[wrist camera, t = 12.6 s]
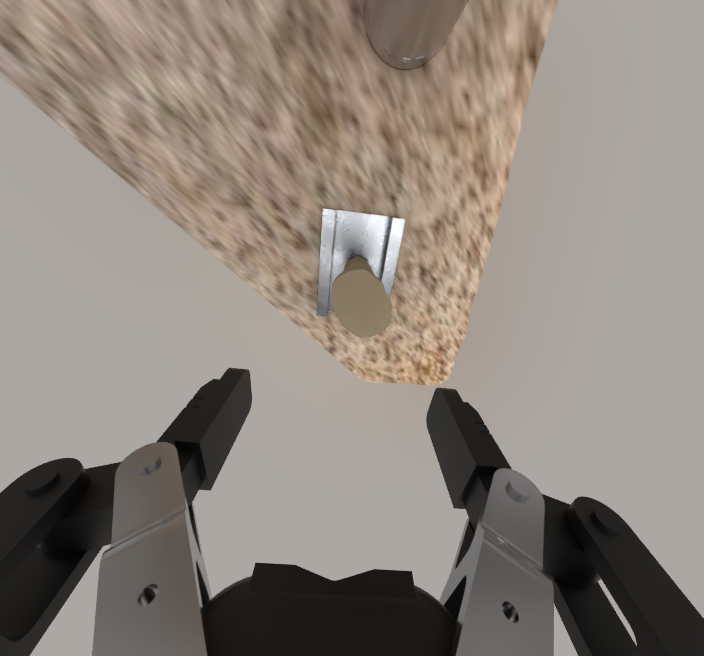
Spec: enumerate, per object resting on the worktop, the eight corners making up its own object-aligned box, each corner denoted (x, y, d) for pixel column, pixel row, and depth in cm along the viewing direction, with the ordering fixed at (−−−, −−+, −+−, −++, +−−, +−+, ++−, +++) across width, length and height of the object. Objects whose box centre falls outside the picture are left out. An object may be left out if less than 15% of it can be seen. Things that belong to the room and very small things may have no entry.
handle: (363, 238, 34) (372, 260, 20) (381, 280, 36) (400, 324, 23) (331, 254, 35) (319, 285, 21) (351, 294, 37) (352, 344, 24)
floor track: (325, 208, 33) (323, 208, 30) (400, 218, 34) (405, 219, 30) (319, 306, 39) (316, 315, 36) (382, 313, 40) (384, 322, 37)
